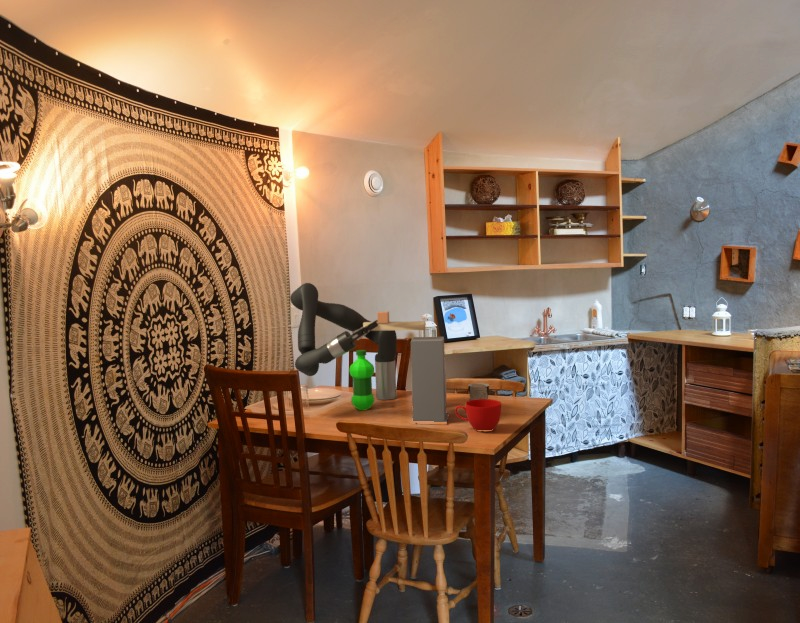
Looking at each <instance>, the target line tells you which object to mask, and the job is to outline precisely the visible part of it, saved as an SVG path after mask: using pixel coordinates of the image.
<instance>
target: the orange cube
mask: <svg viewBox="0 0 800 623" xmlns="http://www.w3.org/2000/svg"><path fill="white" fill-rule="evenodd" d="M376 315H377V316H376V317H377V319H376V320H378V323H388V322H390V311H378V312H377V314H376Z"/></svg>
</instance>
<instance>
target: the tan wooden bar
mask: <svg viewBox="0 0 800 623" xmlns="http://www.w3.org/2000/svg"><path fill="white" fill-rule="evenodd" d="M372 322H373V321H371V322H364V323H363V327H365V326H368V325H369V324H371V323H372ZM377 324H378V326H377V327H375V328H374V329H372V330H370V331H382V330H395V331H425V330H426V321H425V320H423V321H421V320H420V321H419V320H418V321H389V322H388V323H378V322H377Z"/></svg>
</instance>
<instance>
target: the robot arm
mask: <svg viewBox="0 0 800 623" xmlns="http://www.w3.org/2000/svg"><path fill="white" fill-rule="evenodd" d="M289 299H290V302H291V304H292V305H293V306H294V307H295V308H296V309H298V310H299V311H302V312H301V318H300V321H299V325H298V329H297V349H298V351H299V353H300V355H299V356H298V357H296V360H295V362H294V366H295V370H297V371H298V372H300V373H302V374H304V375H305V376H307V377H313V376H315V375H316V374H317V373H318V372H319V368H320V364H323V365H325V364H329V363H331V362H332V361H333V360H335V359H337V358H340V357H341V356H343V355H345V354H346V353H349V352H350V351H352V350H353V349H355V348H356V347H357V345H356V342H355V341H357V342H358V341H360V340H361V339H362V338H363V337H365V338H366V339H368V340H369V341H371V342H373V343H374V344H376V345H378V347H377V348H378V352H377V353H376V354H375V355H374V374H375V398H376V399H377V400H379V401H380V400H382V401H384V400H385V401H387V400H394V399H396V398H397V378H396V376H397V375H396V374H397V373H396V356H397V353H398V352H397V349H398V348H397V347H398V346H397V345H398V343H397V342H398V339H397V337H398V336H397V332H396V330H382V331H370V330H372V329H374V328H375V327H377V326H378V324H377V322H378V320H377V319H376V320H374V321H371V320H368V319H367V318H365V316H363V315H362V314H360V313H359V312H358V311H356V310H355V309H353V308H351V307H350V306H347V305H344V304H341V303H334V302H333V303H332V302H324V301H320V300H319V291H318V289H317V287H316V286H315V285H314V284H313V283H311V282H305V283H302V284H301V285H300V286H298V288H296V289H295V290H294V291H293V292H292V293H291V295H290V297H289ZM317 317H319V318H321V319H324V320H326V321H328V322H330V323H333V324H334V325H336V326H338V327H340V328H342V329H345V331H343V332H341V333H339V334H338V335H337V336H335V337H333V338H331V340H329V341H328V342H326V343H325V344H323V345H321V346H320V347H318V348H316V320H317V319H316V318H317ZM364 322H372V323H371V324H369V325H368V326H365V327H363V323H364ZM350 332H351V333H352V334H351V333H350Z"/></svg>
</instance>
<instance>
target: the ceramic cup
mask: <svg viewBox="0 0 800 623" xmlns="http://www.w3.org/2000/svg"><path fill="white" fill-rule="evenodd" d="M458 409H463V410H464V412H465V413H466V417H467V418H466V417H463V416H461V415H460V414H459V412H458ZM454 412H455V415H456V417H457V418H459V419H461V420H463V421H466V422H468V423H469V424H470V426H471V427H472V428H473V429H474V430H475V429H476V430H492V429H493V430H495V429H496V427H497V426H498V425H499V422H500V419H501V416H502V402H501V401H499V400H497V399H496V400H495V399H491V398H488V399H476V400H470V401H469V400H468V401H466V402H465V406H463V405H457V406H456V407H455V409H454Z"/></svg>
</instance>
